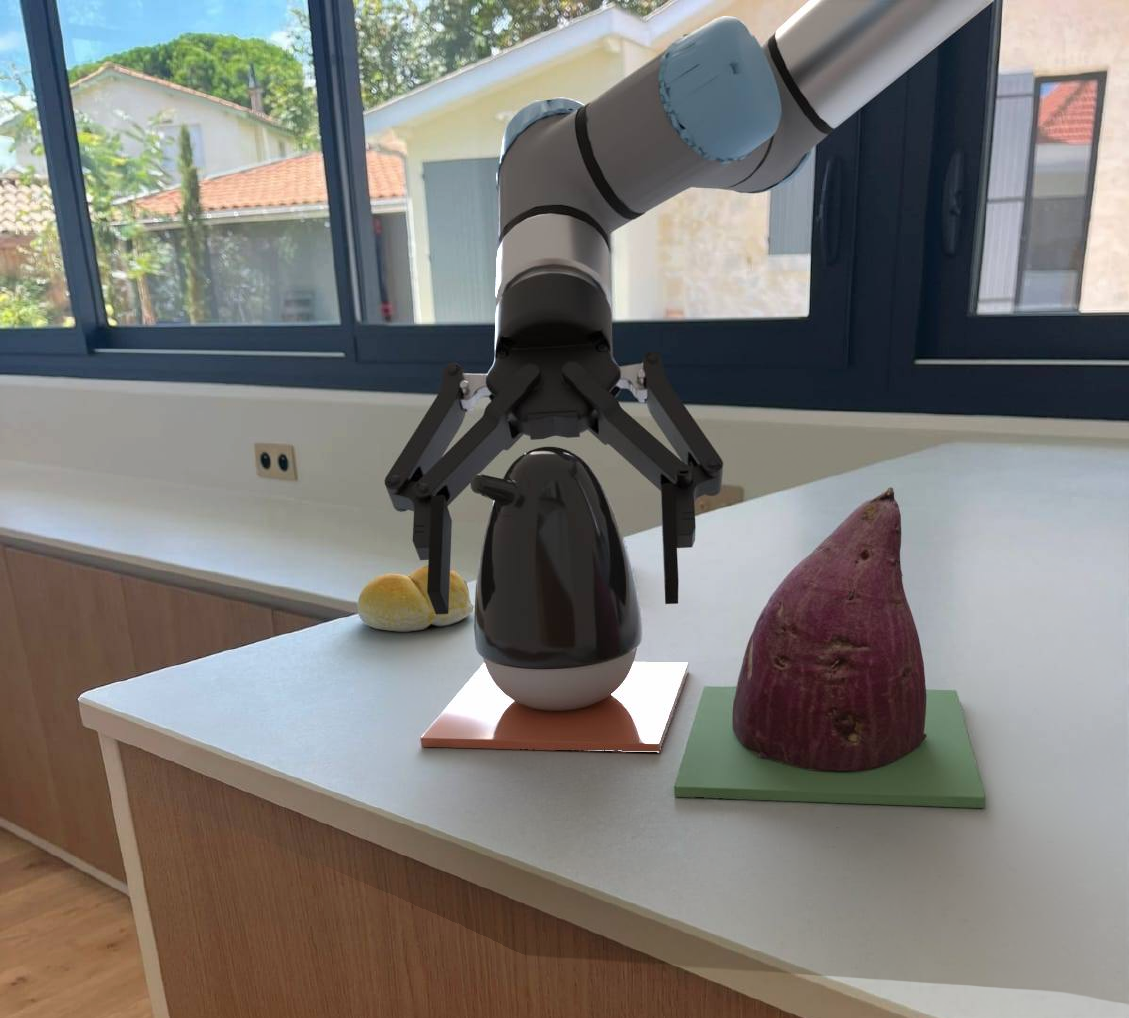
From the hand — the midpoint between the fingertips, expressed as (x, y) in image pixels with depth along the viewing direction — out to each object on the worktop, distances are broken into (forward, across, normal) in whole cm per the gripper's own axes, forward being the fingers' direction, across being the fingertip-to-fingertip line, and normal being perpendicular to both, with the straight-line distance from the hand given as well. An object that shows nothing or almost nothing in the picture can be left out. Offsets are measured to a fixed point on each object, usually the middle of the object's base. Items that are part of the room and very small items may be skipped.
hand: (553, 598), depth 67 cm
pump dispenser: (+3, 0, -7) cm, 8 cm away
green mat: (+9, -15, -2) cm, 18 cm away
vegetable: (+9, -15, -2) cm, 17 cm away
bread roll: (-11, +13, -22) cm, 28 cm away
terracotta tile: (+4, 0, -7) cm, 8 cm away
